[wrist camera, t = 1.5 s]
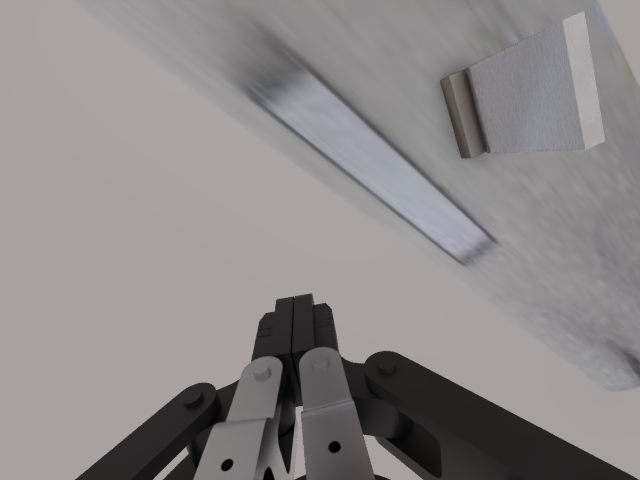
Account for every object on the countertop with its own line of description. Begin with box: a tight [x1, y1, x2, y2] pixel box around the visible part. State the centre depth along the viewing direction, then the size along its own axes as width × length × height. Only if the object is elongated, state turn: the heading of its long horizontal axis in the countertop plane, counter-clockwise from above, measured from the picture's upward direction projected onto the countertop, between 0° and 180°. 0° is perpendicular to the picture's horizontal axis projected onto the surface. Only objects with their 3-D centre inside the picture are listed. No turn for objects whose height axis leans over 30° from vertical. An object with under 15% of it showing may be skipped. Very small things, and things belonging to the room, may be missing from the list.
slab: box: [466, 11, 605, 153], centre depth 29 cm, size 2×9×13 cm, turn 23°
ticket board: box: [440, 69, 487, 158], centre depth 37 cm, size 14×9×2 cm, turn 113°
